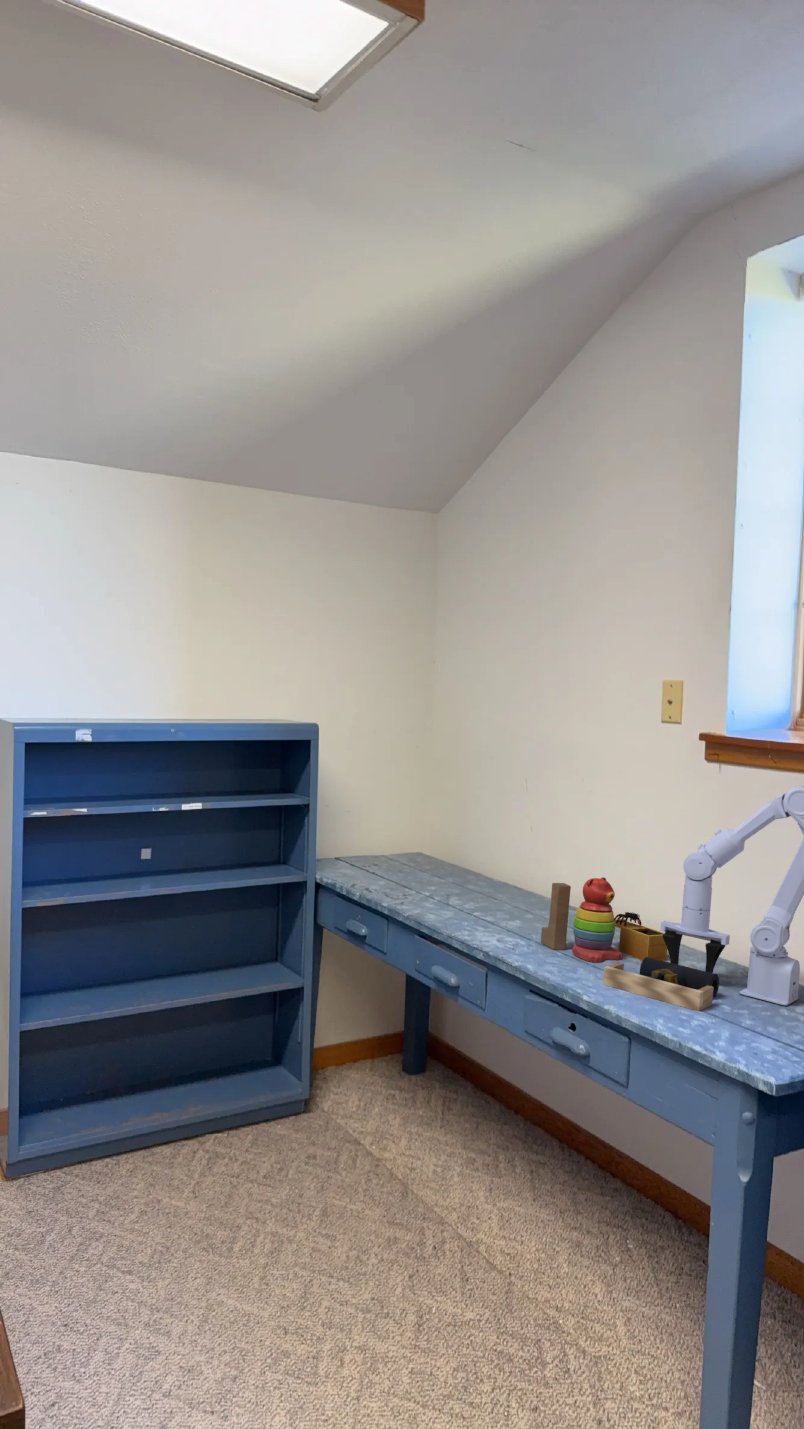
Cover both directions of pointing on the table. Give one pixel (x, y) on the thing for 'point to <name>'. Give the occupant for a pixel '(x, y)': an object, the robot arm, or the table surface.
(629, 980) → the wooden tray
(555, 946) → the wooden block
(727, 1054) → the table surface
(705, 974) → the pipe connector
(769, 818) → the robot arm
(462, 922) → the table surface
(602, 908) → the stacking bear
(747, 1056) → the table surface
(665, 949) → the spider toy trap
